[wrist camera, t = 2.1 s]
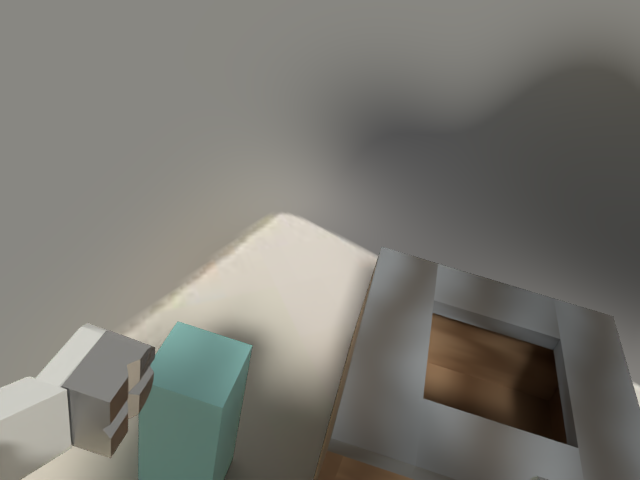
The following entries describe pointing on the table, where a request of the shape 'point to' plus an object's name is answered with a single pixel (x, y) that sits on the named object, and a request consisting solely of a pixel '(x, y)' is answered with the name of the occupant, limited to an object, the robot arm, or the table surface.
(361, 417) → the drop box
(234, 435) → the block
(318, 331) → the table surface
